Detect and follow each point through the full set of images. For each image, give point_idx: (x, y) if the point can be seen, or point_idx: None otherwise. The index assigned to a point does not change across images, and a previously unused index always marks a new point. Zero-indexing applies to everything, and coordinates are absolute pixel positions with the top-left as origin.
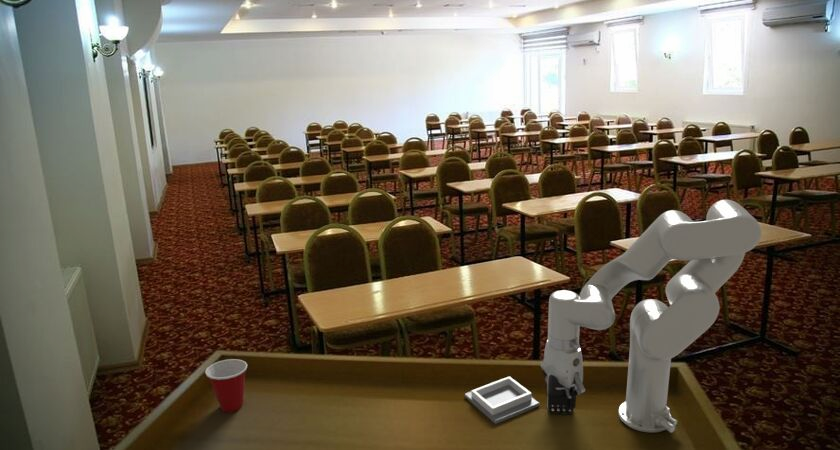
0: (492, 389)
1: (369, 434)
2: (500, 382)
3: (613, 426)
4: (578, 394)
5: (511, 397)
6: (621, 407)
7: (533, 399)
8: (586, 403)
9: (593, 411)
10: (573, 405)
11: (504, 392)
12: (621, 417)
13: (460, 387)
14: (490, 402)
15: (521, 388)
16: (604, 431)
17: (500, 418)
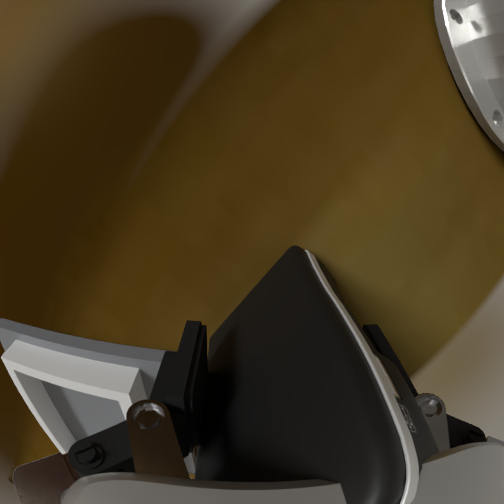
0: (51, 407)
1: None
2: (31, 396)
3: (487, 197)
4: (458, 424)
5: (100, 400)
6: (469, 70)
7: (141, 363)
8: (312, 137)
9: (386, 170)
10: None
11: (67, 392)
12: (501, 142)
13: (23, 411)
14: None
15: (79, 389)
16: (477, 252)
17: (193, 466)
